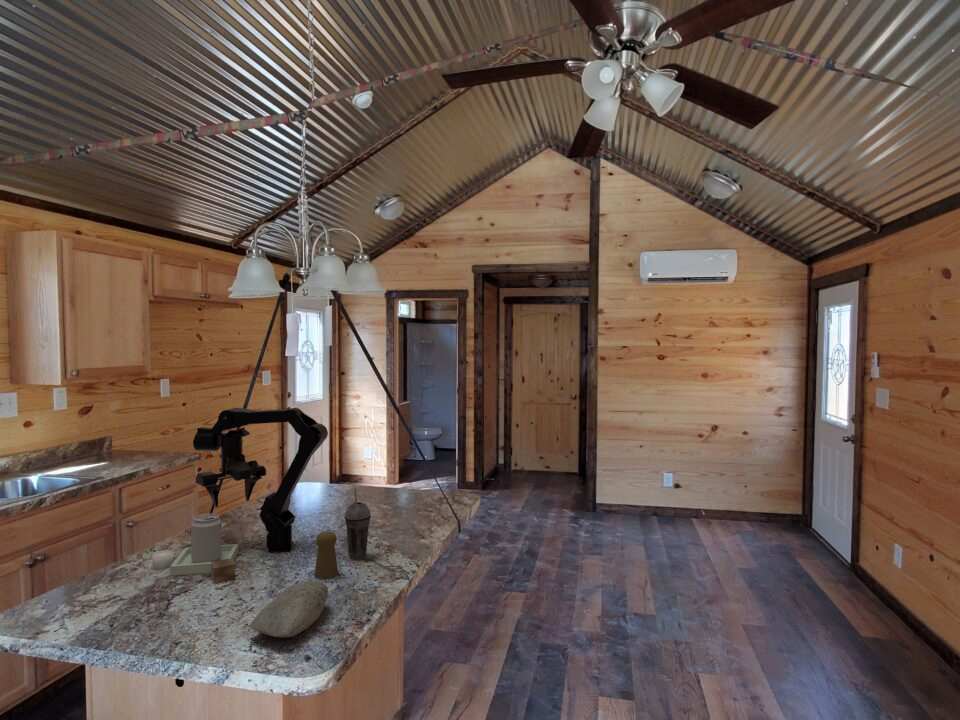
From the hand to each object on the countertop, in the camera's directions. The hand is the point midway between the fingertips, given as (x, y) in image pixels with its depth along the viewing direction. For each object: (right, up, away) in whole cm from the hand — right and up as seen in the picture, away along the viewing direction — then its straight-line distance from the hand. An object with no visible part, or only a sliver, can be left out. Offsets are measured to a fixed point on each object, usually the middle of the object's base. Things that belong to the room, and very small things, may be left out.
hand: (232, 503), depth 167 cm
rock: (+34, -15, -46) cm, 58 cm away
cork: (+33, -14, -19) cm, 41 cm away
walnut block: (+7, -14, -22) cm, 27 cm away
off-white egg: (-13, -13, -14) cm, 23 cm away
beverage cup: (+39, -14, -7) cm, 42 cm away
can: (-2, -13, -12) cm, 18 cm away
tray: (-2, -13, -12) cm, 18 cm away
